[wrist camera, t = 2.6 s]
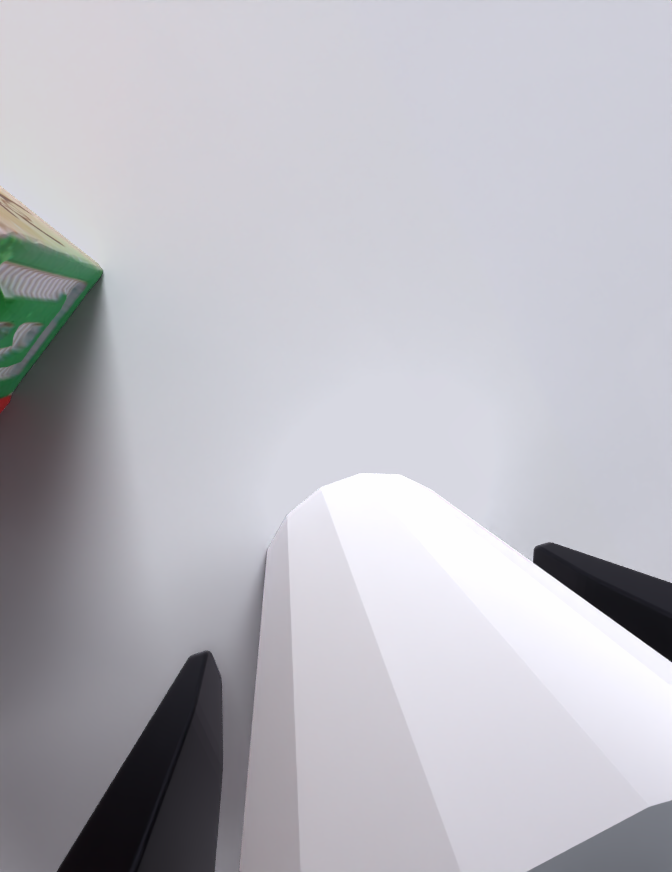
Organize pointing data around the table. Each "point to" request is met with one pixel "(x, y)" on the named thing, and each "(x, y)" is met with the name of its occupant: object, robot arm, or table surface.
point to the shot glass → (445, 703)
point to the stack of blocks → (34, 288)
